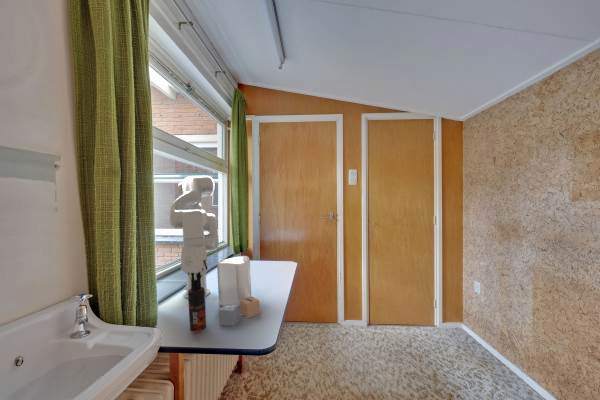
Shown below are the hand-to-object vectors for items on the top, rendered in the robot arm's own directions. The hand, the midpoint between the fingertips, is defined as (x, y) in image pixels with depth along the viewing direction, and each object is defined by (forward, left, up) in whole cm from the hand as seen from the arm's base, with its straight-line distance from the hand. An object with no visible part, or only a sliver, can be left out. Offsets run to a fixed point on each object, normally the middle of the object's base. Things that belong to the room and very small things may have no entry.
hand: (196, 289), depth 103 cm
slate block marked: (+8, +9, -15) cm, 19 cm away
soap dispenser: (-1, +26, -16) cm, 30 cm away
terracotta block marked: (+11, +18, -15) cm, 26 cm away
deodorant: (0, 0, -15) cm, 15 cm away
